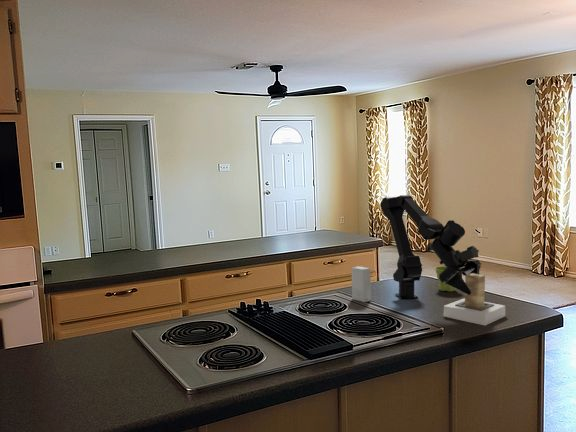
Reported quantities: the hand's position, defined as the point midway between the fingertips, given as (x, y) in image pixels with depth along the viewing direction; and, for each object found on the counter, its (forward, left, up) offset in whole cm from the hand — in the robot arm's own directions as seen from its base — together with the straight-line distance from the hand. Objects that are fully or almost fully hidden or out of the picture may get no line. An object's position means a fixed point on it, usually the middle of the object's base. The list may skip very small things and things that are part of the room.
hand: (477, 291), depth 165 cm
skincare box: (-30, -28, -8) cm, 42 cm away
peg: (-1, 0, -8) cm, 8 cm away
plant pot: (-36, +10, -8) cm, 38 cm away
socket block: (-1, 0, -8) cm, 8 cm away
